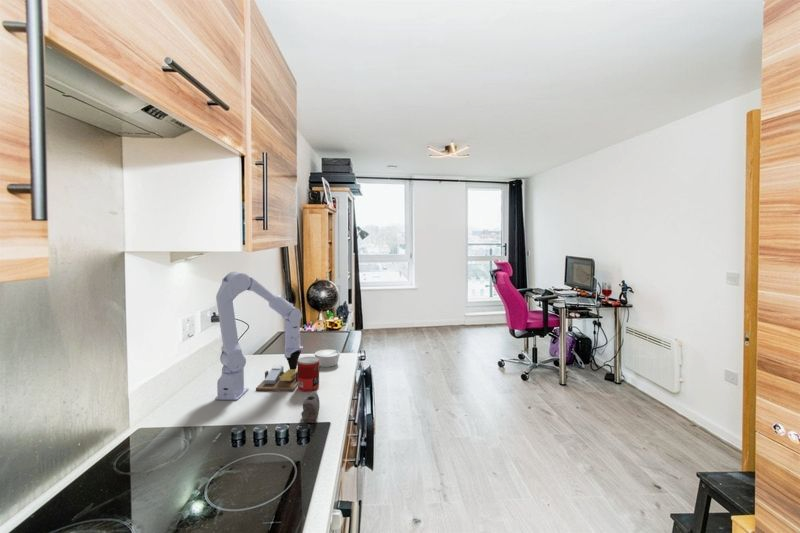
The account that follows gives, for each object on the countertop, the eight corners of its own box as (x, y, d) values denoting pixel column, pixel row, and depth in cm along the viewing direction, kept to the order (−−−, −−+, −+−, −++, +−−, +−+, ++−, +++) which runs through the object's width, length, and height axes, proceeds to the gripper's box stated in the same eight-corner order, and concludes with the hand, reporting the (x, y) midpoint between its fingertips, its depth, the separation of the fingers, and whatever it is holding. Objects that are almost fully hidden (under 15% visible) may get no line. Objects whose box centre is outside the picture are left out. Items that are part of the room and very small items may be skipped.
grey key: (275, 383, 136) (275, 379, 136) (264, 383, 136) (263, 379, 136) (283, 369, 146) (283, 365, 146) (273, 369, 146) (273, 365, 146)
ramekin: (340, 367, 160) (340, 355, 160) (314, 369, 157) (314, 357, 157) (338, 359, 171) (338, 348, 171) (314, 361, 168) (314, 350, 168)
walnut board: (293, 391, 133) (293, 379, 133) (255, 390, 133) (255, 379, 133) (305, 375, 149) (305, 365, 149) (271, 375, 149) (271, 364, 149)
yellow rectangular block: (291, 380, 136) (291, 375, 136) (279, 380, 136) (279, 375, 136) (298, 373, 146) (298, 368, 146) (288, 373, 146) (288, 368, 146)
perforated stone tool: (306, 405, 122) (306, 385, 122) (322, 404, 123) (322, 384, 122) (299, 427, 107) (299, 405, 107) (317, 427, 108) (317, 404, 107)
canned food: (317, 391, 133) (317, 362, 132) (295, 392, 133) (295, 362, 132) (320, 383, 141) (320, 356, 140) (299, 384, 140) (299, 356, 140)
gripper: (297, 341, 137) (298, 376, 138) (307, 331, 152) (307, 363, 153) (278, 341, 137) (279, 376, 138) (290, 331, 152) (291, 362, 153)
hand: (293, 369), depth 146 cm, fingers closed, pressing on yellow rectangular block
